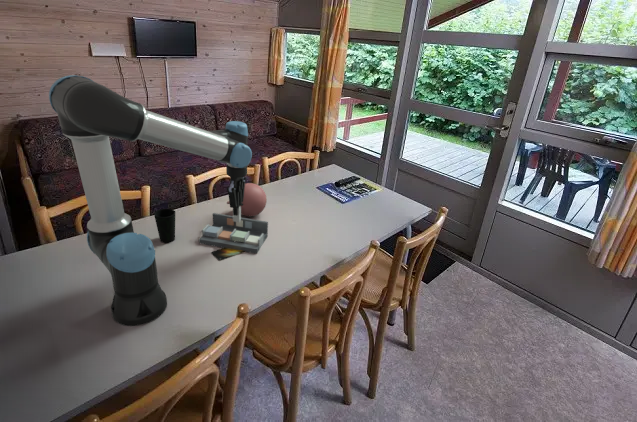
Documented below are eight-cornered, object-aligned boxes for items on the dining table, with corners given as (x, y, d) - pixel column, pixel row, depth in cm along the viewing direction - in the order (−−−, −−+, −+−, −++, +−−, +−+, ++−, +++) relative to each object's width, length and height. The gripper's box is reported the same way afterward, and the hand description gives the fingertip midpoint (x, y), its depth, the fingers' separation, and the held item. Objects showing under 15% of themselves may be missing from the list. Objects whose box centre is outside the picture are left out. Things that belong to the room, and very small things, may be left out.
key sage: (243, 242, 145) (243, 237, 144) (232, 240, 145) (232, 236, 144) (247, 236, 149) (247, 232, 148) (236, 234, 150) (236, 230, 149)
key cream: (257, 247, 145) (257, 242, 144) (245, 245, 145) (245, 240, 144) (261, 241, 149) (261, 237, 148) (249, 239, 149) (249, 235, 149)
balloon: (217, 214, 168) (216, 184, 161) (253, 204, 181) (254, 175, 174) (235, 228, 158) (235, 196, 151) (272, 216, 171) (273, 186, 164)
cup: (170, 246, 141) (168, 218, 136) (153, 242, 143) (149, 215, 137) (181, 236, 148) (179, 210, 143) (164, 233, 149) (161, 207, 144)
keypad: (257, 253, 142) (257, 238, 139) (199, 243, 145) (198, 228, 142) (267, 236, 155) (268, 221, 152) (214, 227, 157) (213, 212, 154)
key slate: (215, 237, 146) (215, 233, 145) (204, 235, 147) (204, 231, 146) (220, 231, 150) (220, 227, 149) (209, 229, 151) (209, 225, 150)
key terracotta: (229, 242, 146) (229, 238, 145) (218, 240, 146) (218, 236, 146) (234, 236, 150) (234, 232, 149) (223, 234, 151) (223, 230, 150)
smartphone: (210, 252, 140) (244, 240, 149) (210, 253, 140) (244, 242, 150) (219, 260, 135) (253, 248, 145) (219, 262, 136) (253, 249, 145)
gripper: (239, 171, 127) (239, 230, 137) (252, 161, 139) (251, 215, 149) (219, 168, 128) (220, 226, 138) (234, 157, 140) (234, 212, 150)
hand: (236, 221), depth 144 cm, fingers closed
